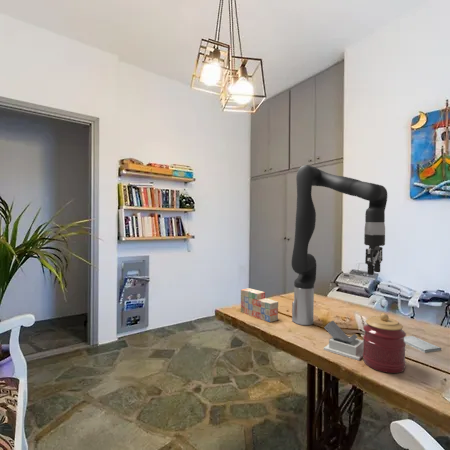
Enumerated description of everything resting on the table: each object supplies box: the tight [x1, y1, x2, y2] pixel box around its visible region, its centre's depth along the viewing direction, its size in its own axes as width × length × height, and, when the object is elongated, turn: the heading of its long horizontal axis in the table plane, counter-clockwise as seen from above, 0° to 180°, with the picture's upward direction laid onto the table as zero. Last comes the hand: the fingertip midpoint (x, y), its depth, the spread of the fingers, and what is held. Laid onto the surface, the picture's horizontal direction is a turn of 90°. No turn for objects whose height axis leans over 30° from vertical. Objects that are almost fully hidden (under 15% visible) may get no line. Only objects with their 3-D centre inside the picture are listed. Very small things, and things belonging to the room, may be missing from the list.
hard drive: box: [404, 335, 442, 354], centre depth 119 cm, size 2×8×12 cm
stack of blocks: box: [240, 287, 279, 323], centre depth 154 cm, size 21×6×12 cm, turn 38°
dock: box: [323, 336, 364, 361], centre depth 114 cm, size 13×11×4 cm
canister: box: [362, 312, 407, 374], centre depth 102 cm, size 13×13×18 cm
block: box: [324, 320, 358, 344], centre depth 115 cm, size 6×4×10 cm
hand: (373, 273), depth 121 cm, fingers open, 8 cm apart
